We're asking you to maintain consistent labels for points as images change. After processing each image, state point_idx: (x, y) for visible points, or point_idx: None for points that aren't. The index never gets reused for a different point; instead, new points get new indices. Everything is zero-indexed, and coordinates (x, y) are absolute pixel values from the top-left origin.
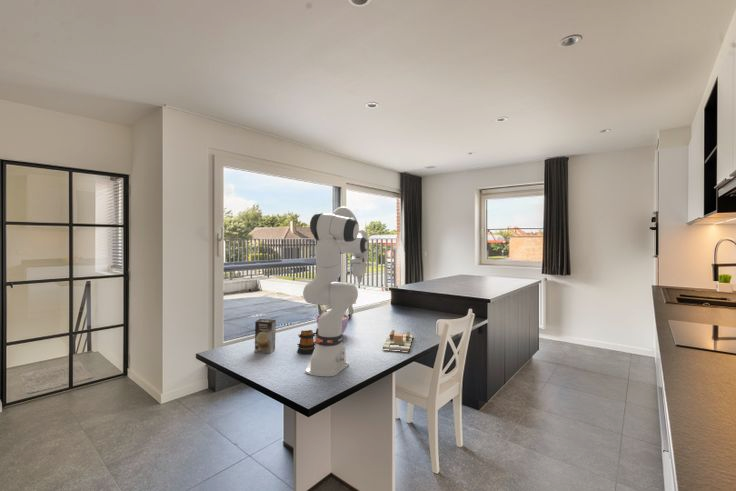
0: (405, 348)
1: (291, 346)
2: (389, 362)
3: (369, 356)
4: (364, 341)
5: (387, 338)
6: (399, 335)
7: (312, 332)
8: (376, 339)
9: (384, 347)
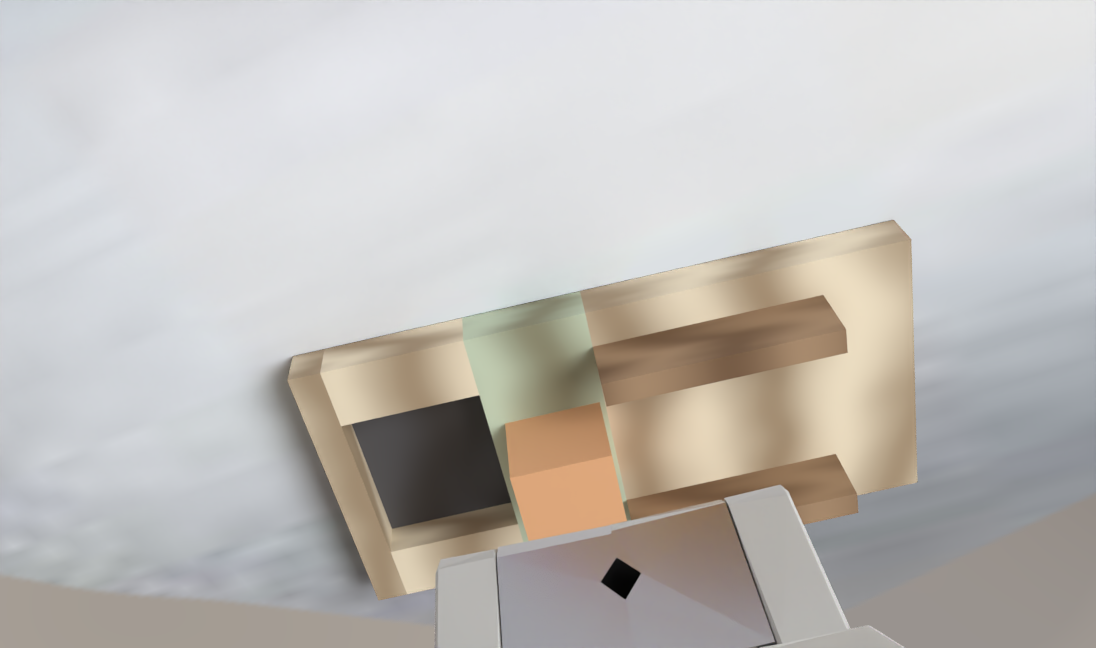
0: (376, 572)
1: None
2: (17, 527)
3: (19, 315)
4: (499, 15)
5: (627, 307)
6: (543, 523)
7: None
8: (663, 126)
9: (294, 393)
